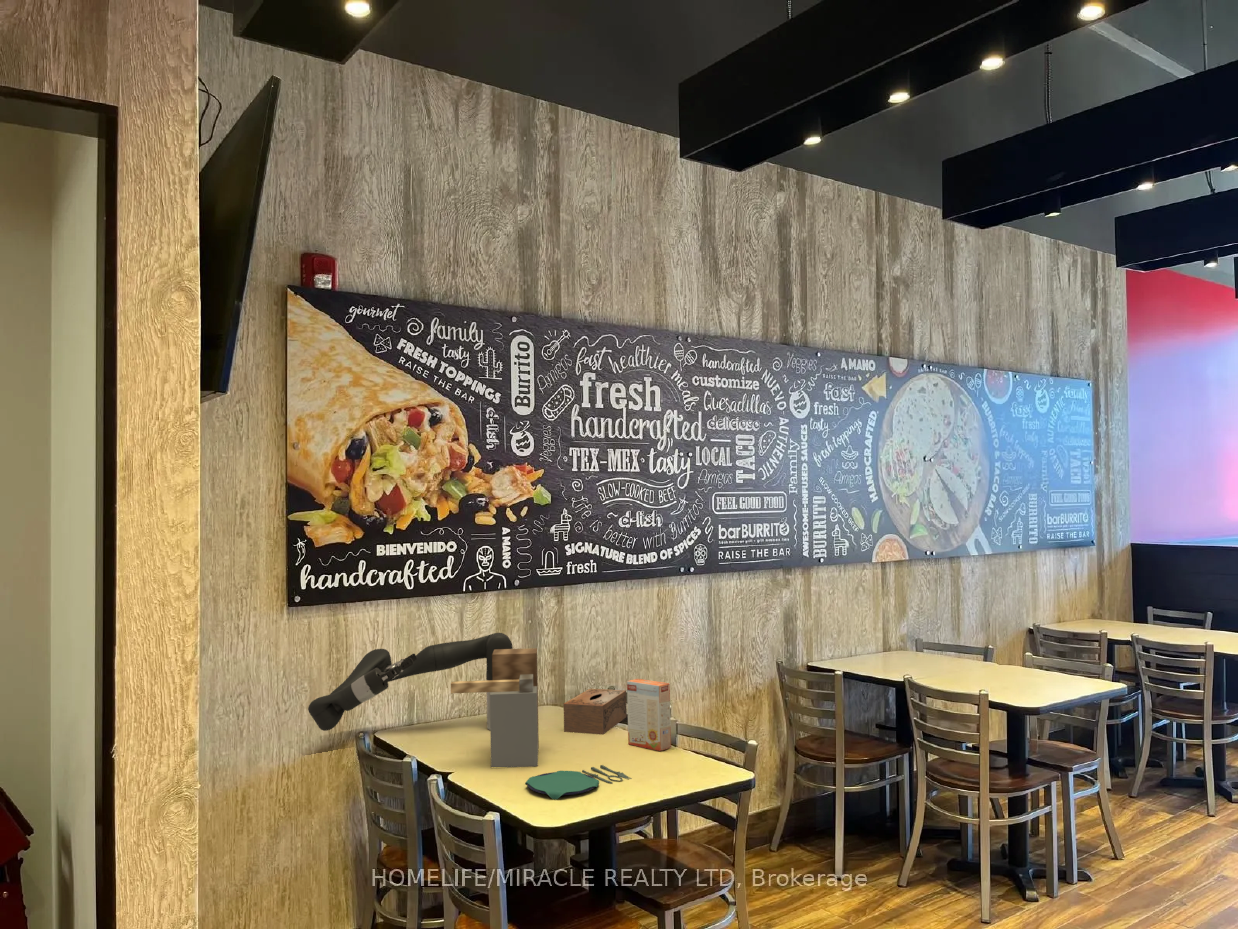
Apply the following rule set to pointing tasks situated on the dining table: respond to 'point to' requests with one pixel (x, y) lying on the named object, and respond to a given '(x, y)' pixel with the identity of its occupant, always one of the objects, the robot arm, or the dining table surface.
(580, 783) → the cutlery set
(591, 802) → the dining table surface
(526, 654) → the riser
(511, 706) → the grey tall block
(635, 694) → the cracker box
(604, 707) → the tissue box cover
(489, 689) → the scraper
